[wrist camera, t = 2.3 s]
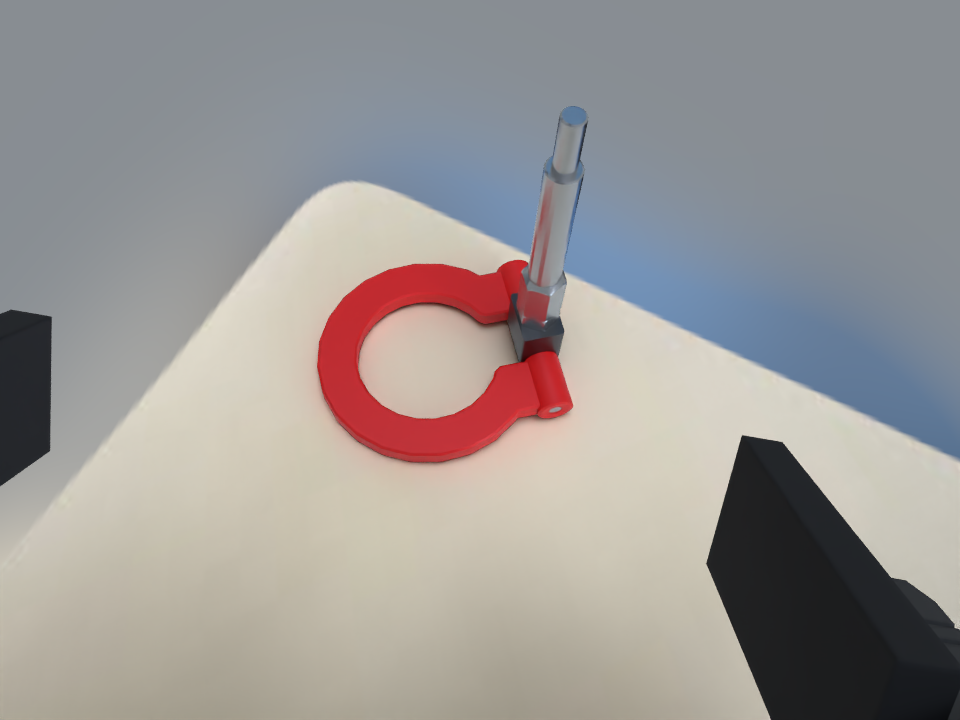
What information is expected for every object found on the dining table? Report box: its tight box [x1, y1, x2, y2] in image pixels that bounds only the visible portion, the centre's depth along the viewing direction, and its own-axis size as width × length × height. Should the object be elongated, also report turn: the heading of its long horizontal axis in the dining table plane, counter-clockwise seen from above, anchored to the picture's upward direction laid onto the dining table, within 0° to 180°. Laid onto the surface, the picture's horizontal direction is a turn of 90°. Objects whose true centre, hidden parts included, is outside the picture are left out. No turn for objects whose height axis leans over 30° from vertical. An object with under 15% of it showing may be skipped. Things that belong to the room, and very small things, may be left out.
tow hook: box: [317, 106, 588, 462], centre depth 27 cm, size 8×13×9 cm
